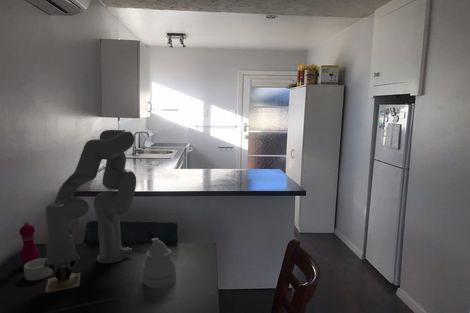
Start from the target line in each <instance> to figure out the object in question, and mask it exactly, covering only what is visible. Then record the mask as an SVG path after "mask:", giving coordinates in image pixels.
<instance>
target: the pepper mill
mask: <svg viewBox="0 0 470 313" xmlns="http://www.w3.org/2000/svg"><path fill="white" fill-rule="evenodd" d="M35 232H36V228H35V226H34V225H32V224H30V223H29V222H28V221H25V222H24V223H23V226H21V227H20V228H19V235H20V236H21V237H20V238H21V241H22V243H23V245H22V249H21V251H20V259H21V261H22V267H23V268H24V265H25V264H26V263H28V262H30V261H32V260H35V259H39V256H40V251H39V249H38V248H37V246H36V244H35Z"/></svg>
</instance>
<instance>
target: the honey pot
mask: <svg viewBox="0 0 470 313" xmlns="http://www.w3.org/2000/svg"><path fill="white" fill-rule="evenodd" d="M151 242H152V245H151V247H150V249H149V250H148V251H147V252H146V253H145V257H146V259H145V263H144V265H143V269H142V273H143V274H142V275H143V277H142V278H143V284H144V285H145V286H146V287H148V288H151V289H160V288H165V287H169V286H170V285H172V284H174V283H175V282H176V280H177V270H176V263H175V262H174V260H173V256H172V250H171V249H170V248H168V247H167V245H166V244H165V243H164V242H163V241H162V240H160V239H159V237H154V238H151Z"/></svg>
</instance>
